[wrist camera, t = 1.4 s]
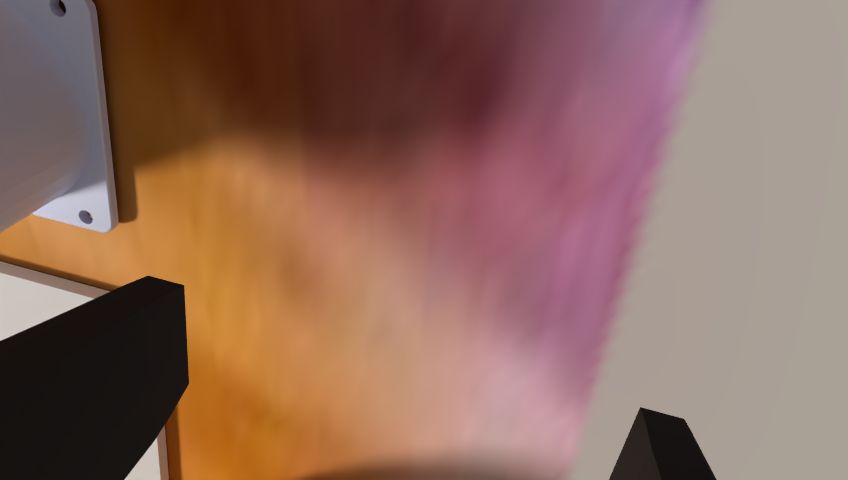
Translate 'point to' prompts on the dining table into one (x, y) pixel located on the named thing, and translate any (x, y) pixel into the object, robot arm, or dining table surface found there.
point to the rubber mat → (46, 298)
